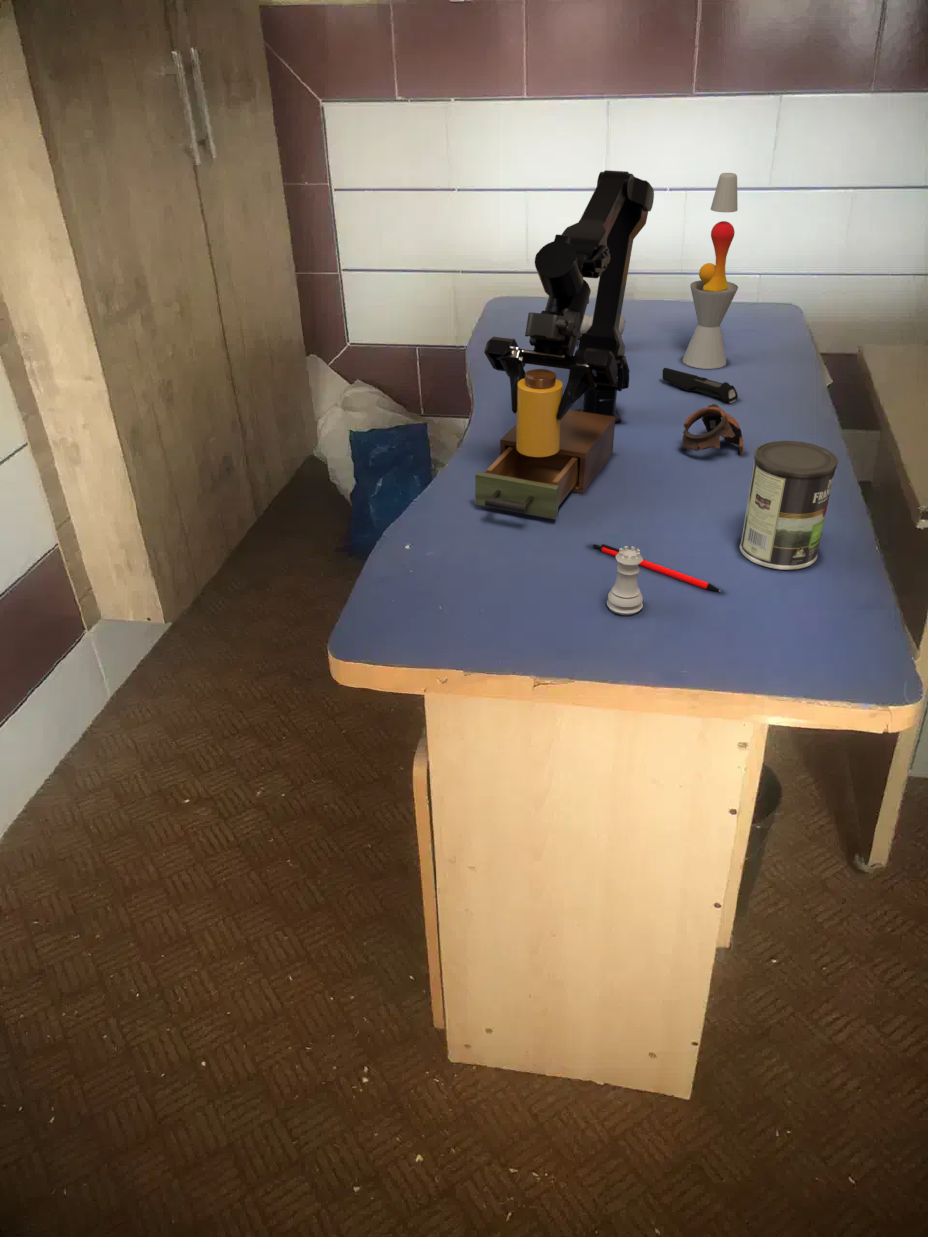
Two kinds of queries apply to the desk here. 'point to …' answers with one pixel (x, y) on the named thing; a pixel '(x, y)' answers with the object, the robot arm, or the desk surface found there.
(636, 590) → the rook chess piece
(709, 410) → the pottery mug
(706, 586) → the pen
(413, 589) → the desk surface
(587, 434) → the cabinet
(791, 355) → the desk surface
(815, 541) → the coffee can
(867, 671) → the desk surface
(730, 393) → the black flashlight
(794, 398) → the desk surface
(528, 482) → the drawer
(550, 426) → the bottle
